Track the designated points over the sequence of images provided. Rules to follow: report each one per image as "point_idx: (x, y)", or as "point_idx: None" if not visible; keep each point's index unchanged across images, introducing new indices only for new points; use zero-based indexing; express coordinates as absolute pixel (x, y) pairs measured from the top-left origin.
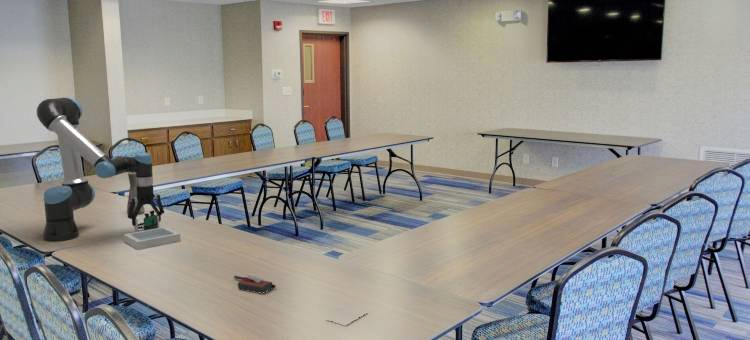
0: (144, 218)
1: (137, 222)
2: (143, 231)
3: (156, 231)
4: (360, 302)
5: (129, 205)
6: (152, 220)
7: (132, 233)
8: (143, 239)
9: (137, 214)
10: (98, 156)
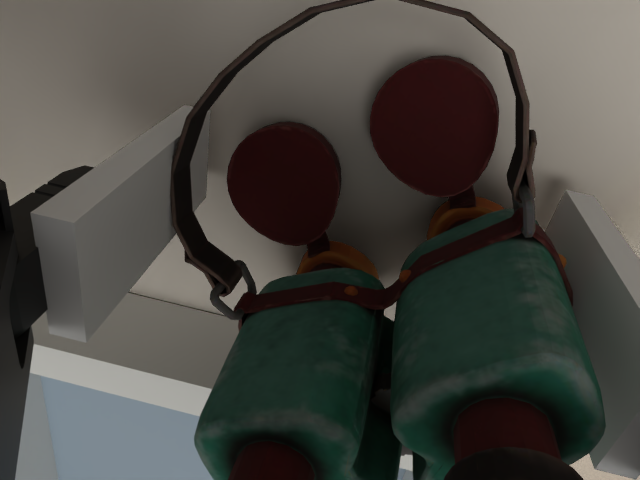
0: (202, 458)
1: (121, 294)
2: (168, 403)
3: None
4: None
5: None
6: (389, 435)
7: None
8: (148, 415)
9: (11, 444)
10: None
